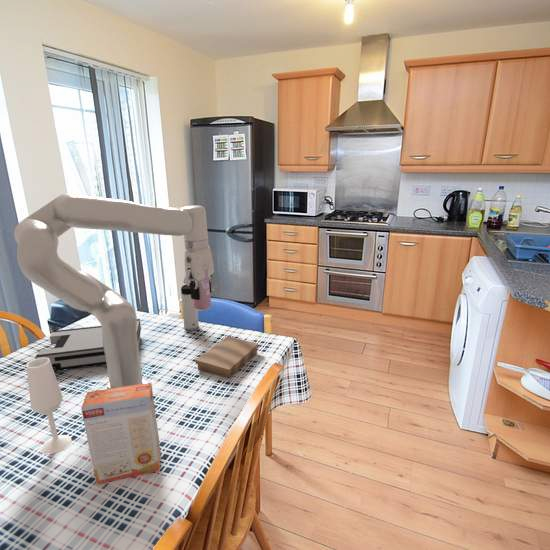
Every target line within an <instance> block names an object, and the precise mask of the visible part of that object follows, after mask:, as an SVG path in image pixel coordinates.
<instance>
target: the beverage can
mask: <svg viewBox="0 0 550 550" xmlns="http://www.w3.org/2000/svg"><path fill="white" fill-rule="evenodd" d="M205 268H206V267H205ZM192 279H194V278H193V277H192ZM193 284H195V281H193ZM198 288H199V294H200V299H199V300H195V299H193V305H194V308H195V309H196V310H198V312H202V311H207V310H209V309H210V308H211V307H212V300H211V297H212V296H211V293H210V285H209V276H208V270H207V269H205V278H204V279H202V280H200V281H198Z"/></svg>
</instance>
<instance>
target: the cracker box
mask: <svg viewBox="0 0 550 550" xmlns="http://www.w3.org/2000/svg"><path fill="white" fill-rule="evenodd" d="M153 393H154V392H153V385H152V382H148V383H145V384H138V385H131V386H125V387H118V388H111V389H107V388H104V389H98V390H93V391H92V390H91V391H87V392H86V395H85V397H84V400H83V402H82V405H81V407H80V408H81V413H82V419H83V422H84V429H85V434H86V439H87V444H88V449H89V454H90V455H89V456H90V460H91V465H92V469H93V474H94V479H95V483H96V484H102V483H106V482H113V481H116V480H121V479H126V478H131V477H136V476H139V475H140V476H141V475H145V474H150V473H153V472H154V473H155V472H159V471H161V469H160V468H161V455H162V452H161V445H160V436H159V430H158V422H157V416H156V407H155V401H154V400H155V399H154V394H153Z"/></svg>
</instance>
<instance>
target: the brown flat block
mask: <svg viewBox="0 0 550 550" xmlns="http://www.w3.org/2000/svg"><path fill="white" fill-rule="evenodd" d="M259 345H260V344H259V343H258V342H254V341H249V340H246V339H241V338H238V337H233V336H229V335H227V336H226V337H224V338H223V339H222V340H219V341H218V342H217V343H216V344H215V345H213V346H212V347H210V348H209V349H208V350H207V351H204V352H203V354H201V355H199V356H198V357H197V358H196V359H194V360H195V365H197V370H198V371H202V372H205V373H209V374H211V375H214V376H218V377H222V378H225V379H228V380H230V379H231V378H232V377H234V375H236V373H238V371H240V370H241V369H242V368H243V367H244V366H246V364H247V363H248V362H250V361H251V359H252V358H254V357H255V356H256V355H257V354H258V348H260V347H259Z"/></svg>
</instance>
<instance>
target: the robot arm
mask: <svg viewBox="0 0 550 550" xmlns="http://www.w3.org/2000/svg"><path fill="white" fill-rule="evenodd" d="M71 228H77V229H86V230H87V229H89V230H101V231H102V230H103V231H115V232H117V231H118V232H128V233H136V234H137V233H138V234H139V233H140V234H148V235H149V234H150V235H151V234H152V235H161V236H162V235H163V236H172V237H173V236H175V237H180V236H181V237H182V236H183V239H184V249H185V251H184V271H185V276H184V279H183V283H184V285H187V286H188V287H189V288H190V292H191V299H195V300H199V299H200V294H199V288H198V281H200V280H202V279H204V278H205V269H207V270H208V276H209V285H210V294H211V293H212V292H213V291H212V280H213V278H212V277H213V274H214V273H215V267H214V259H213V253H212V250H211V246H210V245H209V235H208V223H207V211H206V208H205V207H204V206H202V205H188V206H184V207H173V206H170V207H169V206H167V207H163V208H162V207H157V206H151V205H146V204H140V203H137V202H133V201H129V200H123V199H115V198H113V199H112V198H107V197H106V198H103V197H97V196H89V195H81V194H76V193H70V192H67V193H66V192H65V193H63V194H60V195H58V196H57V197H55V198H54V199H52V200H51V201H49V202H48V203H47V204H44V205H43V206H42V207H40V208H39V209H37V210H36V211H34V212H33V213H32V214H30V215H28V216H26V218H24V219H23V220H21V221H20V222H19V223H18V224H17V225H16V226H15V229H14V233H13V235H14V240H15V242H16V244H17V250H16V253H17V255H16V258H17V259H16V260H17V262H18V263H17V264H18V267H19V270H21V272H22V274H23V275H24V276H25V277H26V278H27V279H28V280H29V281H30V282H32V283H33V284H35V285H36V286H38V287H39V288H41V289H43V290H45V291H46V292H48V294H50V295H52V296H54V297H56V298H57V299H59V300H60V301H62V302H64V303H66V304H67V305H68V306H70V307H71V308H73V309H75V310H77V311H81V312H87V313H89V314H91V315H92V316H94V317H95V318H96V319H97V321H98V322H99V323H100V326H102V337H103V347H104V353H105V358H106V368H107V369H106V370H107V376H108V382H109V384H108V385H106V389H111V388H118V387H125V386H131V385H138V384H145V383H149V382H148V381H147V380H146V379H143V371H142V365H141V356H140V350H139V348H140V347H139V348H138V341H137V329H136V327H137V319H138V318H137V313H136V310H135V308H134V306H133V305H132V304H131V302H129V301H128V300H127V299H126V298H125V297H123V296H122V295H121V294H120V293H118V292H116V291H115V290H114V289H112V288H111V287H109V286H108V285H106V284H105V283H103V281H102V282H101V281H100V280H99V279H97V278H96V277H94V276H93V275H91V274H90V273H88V272H86V271H81V270H77V269H76V268H74V267H73V266H71V265H70V264H68V263H67V262H65V261H64V260H63V259H61V258H60V256H59V254H58V247H59V237H60V236H62V235H63V234H64V233H66V232H67V231H69V230H70V229H71ZM205 267H206V268H205ZM192 277H193V278H194V279H192ZM193 281H195V284H193Z"/></svg>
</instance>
